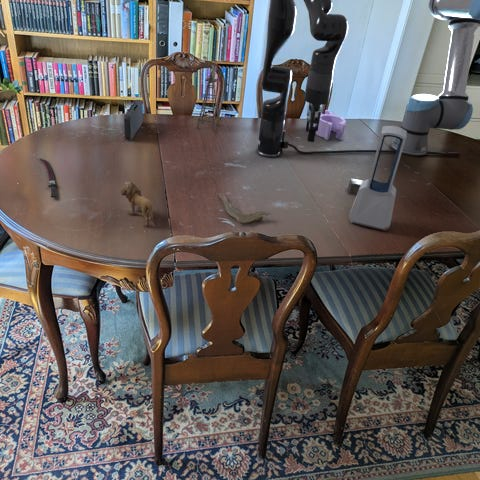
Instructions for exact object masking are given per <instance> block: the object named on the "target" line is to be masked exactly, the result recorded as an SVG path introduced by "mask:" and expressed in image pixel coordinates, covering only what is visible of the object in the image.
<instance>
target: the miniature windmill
mask: <svg viewBox="0 0 480 480" xmlns="http://www.w3.org/2000/svg"><path fill="white" fill-rule="evenodd" d="M211 63H212V64H210V65H209V63H205V62H201V65H200V66H201V69H210V74H209V76H208V77H207V78H206V79H205V82H207V84H206V90H205V91H204V92H205V93H204V96H203V101H202V102H201V103H202V105H201V108H200V112H199V117H198V118H197V124H196V129H198V128H199V126H200V122H201V123H202V124H203V123H204V122H207V123H213V132H216V122H217V125H218V126H220V116H219V111H218V102H217V95H216V85H215V83H216V82H219V79H217V78H215V77H216V75H217V74H216V73H217V69H218V67H217V66H218V61H217V56H216V55H215V56H214V59H212V62H211ZM210 89H211V94H210V93H209V90H210ZM208 99H210V100H211V101H212V103H211V104H210V103H207V101H208ZM207 106H212V108H210V107H207ZM206 110H211V111H212V115H210V114H205V112H206ZM215 111H216V115H215ZM205 117H210V118H212V120H206V119H205ZM204 119H205V120H204Z"/></svg>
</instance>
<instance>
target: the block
mask: <svg viewBox="0 0 480 480" xmlns="http://www.w3.org/2000/svg"><path fill="white" fill-rule="evenodd" d="M363 181H364V180H363V179H357V178H350V179H349V183H348V187H347V191H348V195H351V196H357V193H358V191H359V188H360V185H361V183H362V182H363Z"/></svg>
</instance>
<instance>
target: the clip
mask: <svg viewBox="0 0 480 480" xmlns="http://www.w3.org/2000/svg"><path fill="white" fill-rule="evenodd" d="M346 121H347V120H346V119H345V118H343V117H342V116H339V115H336V114H335V113H334V112H333V111H331V110H327V109H325V110H324V113H322V112H321V115H320V122H319V126H318V131H316V134H315V135H317V136H319V137H321V138H324V139H325V141H328V140H329V139H330V137H331V132H334V133H336V135H335V139H336V140H339V141H343V138H344V134H345V129H346V123H347V122H346ZM315 125H316V124H314V125H313V127H315Z"/></svg>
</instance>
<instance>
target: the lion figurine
mask: <svg viewBox="0 0 480 480" xmlns="http://www.w3.org/2000/svg"><path fill="white" fill-rule="evenodd" d="M119 193H120V194H121V196H122V197H124V196H125V198H126V199H127V200H128V202H129V203H130V207H131V211H130V212H129V213H130V215H135V214H136V211H137V212H141V214H142V216H143V218H144V219H145V223H144V225H145V227H149V226H150V221H152V223H153V225H155V226H159V222H156V221H155V219H154V217H153V216H154V215H153V204H152V202H151V200H150V199H148V198H146V197H145V196H144V195H143V194H142V192H141V190H140V187H138V185H136V184H135V183H133V182H132V181H125V182H124V186H122V188H121V189H119ZM136 207H137V208H136ZM148 214H149V216H148Z"/></svg>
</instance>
